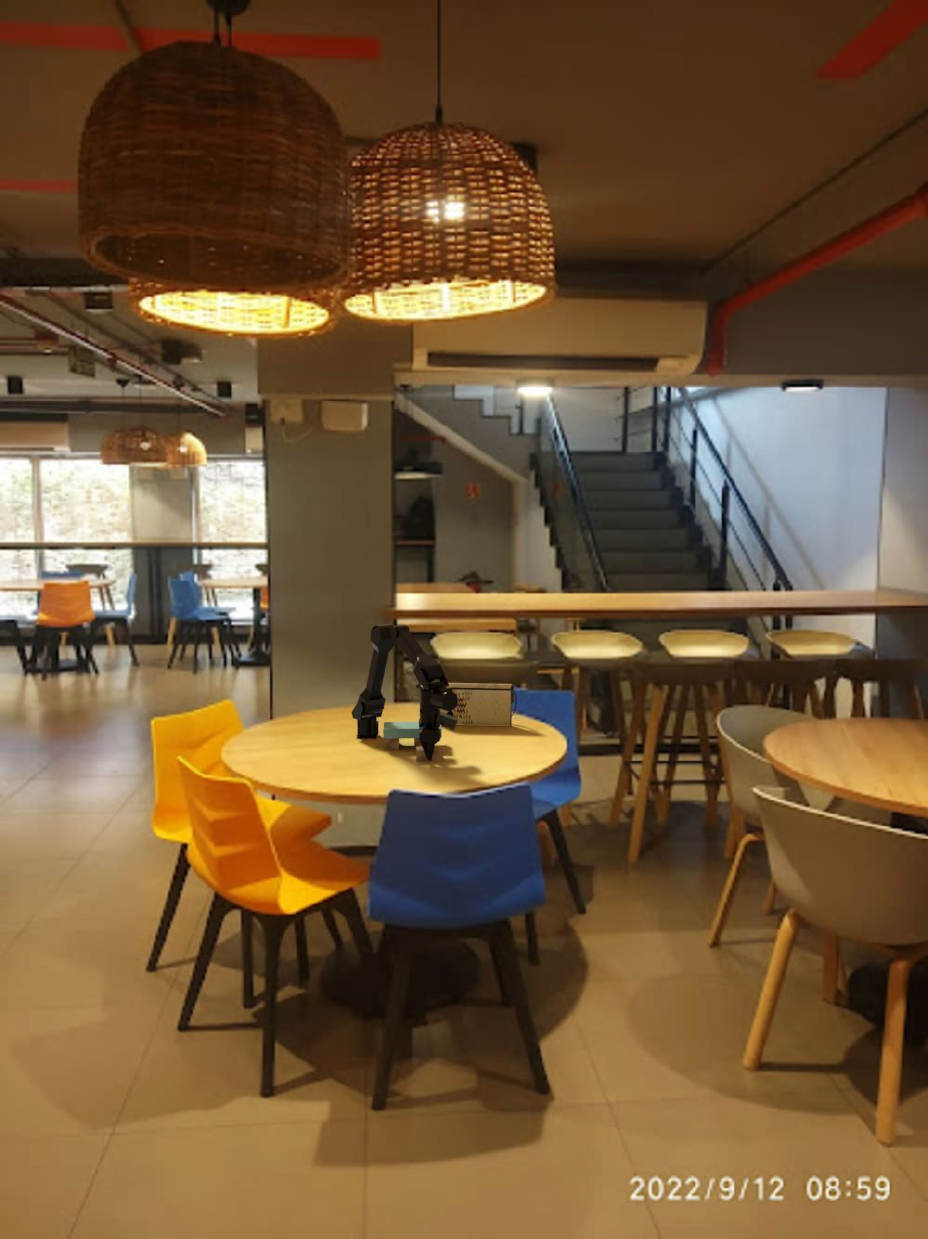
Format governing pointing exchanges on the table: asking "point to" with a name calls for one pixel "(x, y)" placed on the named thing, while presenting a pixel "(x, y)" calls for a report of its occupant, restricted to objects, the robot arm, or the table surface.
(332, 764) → the table surface
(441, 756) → the block
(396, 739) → the block
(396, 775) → the table surface
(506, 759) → the table surface
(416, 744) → the block
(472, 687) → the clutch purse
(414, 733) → the slab
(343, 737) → the table surface
